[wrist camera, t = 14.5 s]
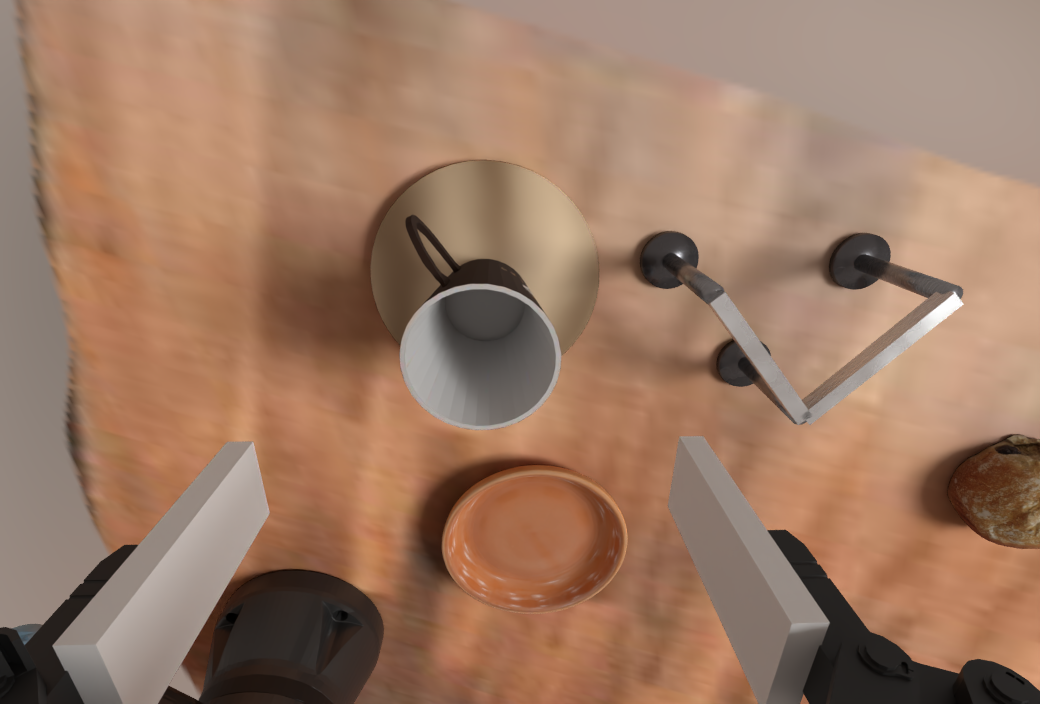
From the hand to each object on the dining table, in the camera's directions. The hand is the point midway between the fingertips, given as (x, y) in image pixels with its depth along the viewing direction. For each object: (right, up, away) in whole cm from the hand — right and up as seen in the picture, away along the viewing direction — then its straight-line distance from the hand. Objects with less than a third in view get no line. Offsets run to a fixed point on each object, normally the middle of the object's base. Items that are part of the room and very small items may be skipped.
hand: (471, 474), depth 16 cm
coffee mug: (-1, +9, +20) cm, 22 cm away
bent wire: (+19, +7, +22) cm, 30 cm away
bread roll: (+45, -8, +30) cm, 55 cm away
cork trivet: (-1, +9, +20) cm, 22 cm away
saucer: (+3, -12, +30) cm, 33 cm away
